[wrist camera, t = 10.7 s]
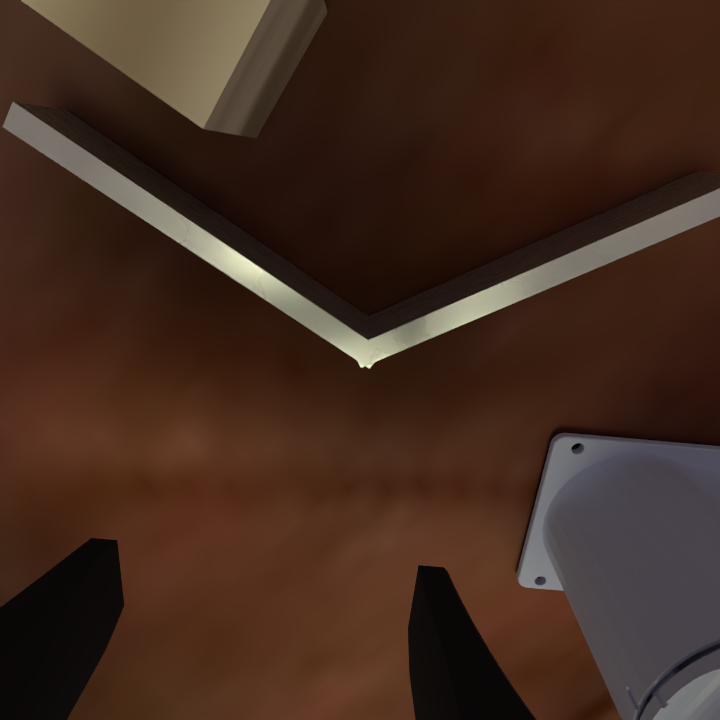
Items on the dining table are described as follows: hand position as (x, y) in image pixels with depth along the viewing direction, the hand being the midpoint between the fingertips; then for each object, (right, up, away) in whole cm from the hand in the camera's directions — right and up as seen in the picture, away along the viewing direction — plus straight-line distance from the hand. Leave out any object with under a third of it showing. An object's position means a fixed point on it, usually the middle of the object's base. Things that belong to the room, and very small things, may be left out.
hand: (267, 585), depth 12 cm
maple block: (-2, +16, +4) cm, 16 cm away
